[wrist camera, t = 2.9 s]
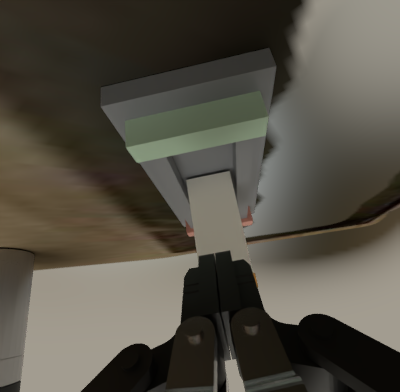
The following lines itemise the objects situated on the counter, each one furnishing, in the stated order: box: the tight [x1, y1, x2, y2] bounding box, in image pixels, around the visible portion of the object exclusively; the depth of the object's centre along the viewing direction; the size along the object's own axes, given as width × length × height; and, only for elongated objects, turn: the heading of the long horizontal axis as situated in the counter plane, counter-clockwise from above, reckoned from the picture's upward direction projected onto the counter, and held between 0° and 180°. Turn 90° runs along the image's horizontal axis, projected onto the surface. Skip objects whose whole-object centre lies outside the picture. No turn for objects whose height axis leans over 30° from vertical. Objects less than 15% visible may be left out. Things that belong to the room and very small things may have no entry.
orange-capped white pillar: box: [186, 171, 258, 288], centre depth 23 cm, size 4×4×10 cm
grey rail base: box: [101, 48, 276, 237], centre depth 25 cm, size 24×10×4 cm, turn 8°
